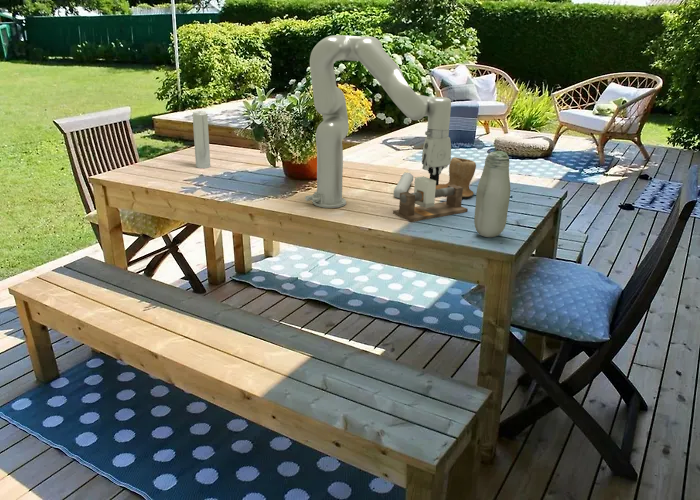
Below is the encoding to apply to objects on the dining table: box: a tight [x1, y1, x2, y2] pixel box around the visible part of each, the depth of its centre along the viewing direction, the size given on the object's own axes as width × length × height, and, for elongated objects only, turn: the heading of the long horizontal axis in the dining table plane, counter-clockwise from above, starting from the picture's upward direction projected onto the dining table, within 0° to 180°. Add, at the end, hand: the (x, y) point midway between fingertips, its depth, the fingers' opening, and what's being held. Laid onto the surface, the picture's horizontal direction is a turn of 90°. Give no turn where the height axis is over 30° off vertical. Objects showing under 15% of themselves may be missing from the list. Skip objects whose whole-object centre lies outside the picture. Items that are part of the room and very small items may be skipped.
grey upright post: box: [192, 110, 211, 169], centre depth 276 cm, size 6×6×25 cm
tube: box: [393, 172, 414, 199], centre depth 249 cm, size 5×5×25 cm
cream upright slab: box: [413, 176, 436, 208], centre depth 218 cm, size 4×7×10 cm, turn 32°
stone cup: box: [436, 156, 477, 198], centre depth 244 cm, size 15×12×15 cm
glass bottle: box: [473, 150, 511, 238], centre depth 195 cm, size 10×10×28 cm
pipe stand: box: [392, 185, 468, 223], centre depth 221 cm, size 26×11×9 cm, turn 122°
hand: (433, 184), depth 219 cm, fingers closed
